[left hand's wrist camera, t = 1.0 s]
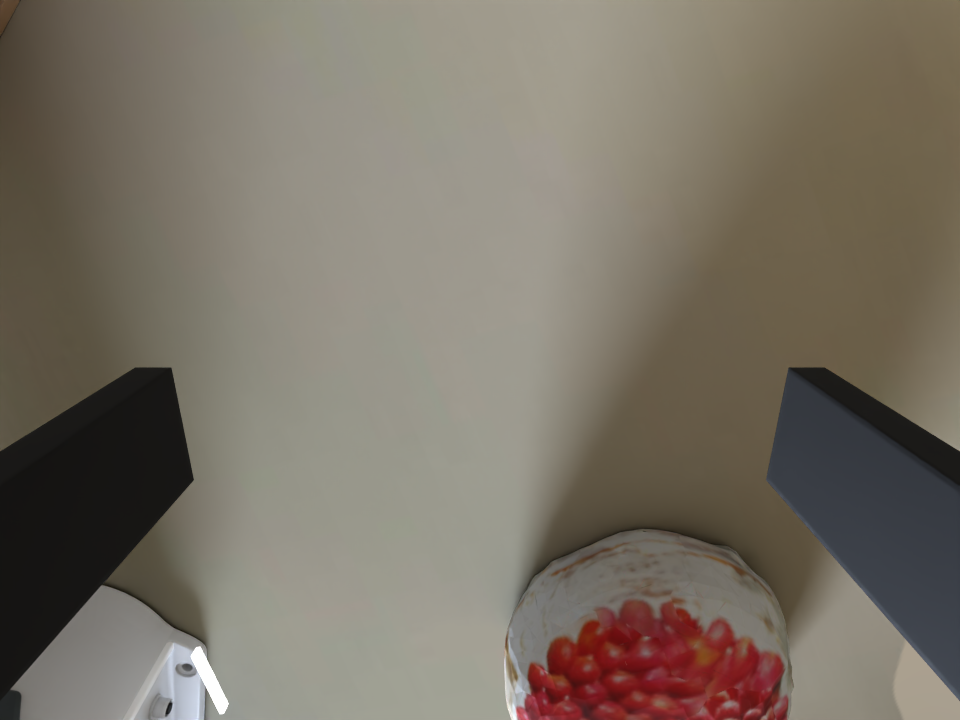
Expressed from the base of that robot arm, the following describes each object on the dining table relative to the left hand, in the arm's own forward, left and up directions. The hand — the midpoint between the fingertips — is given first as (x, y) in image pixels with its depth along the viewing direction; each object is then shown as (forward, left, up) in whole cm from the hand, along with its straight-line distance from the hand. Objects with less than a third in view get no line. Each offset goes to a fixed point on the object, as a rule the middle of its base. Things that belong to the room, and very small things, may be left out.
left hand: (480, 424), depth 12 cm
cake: (+34, +8, -25) cm, 43 cm away
